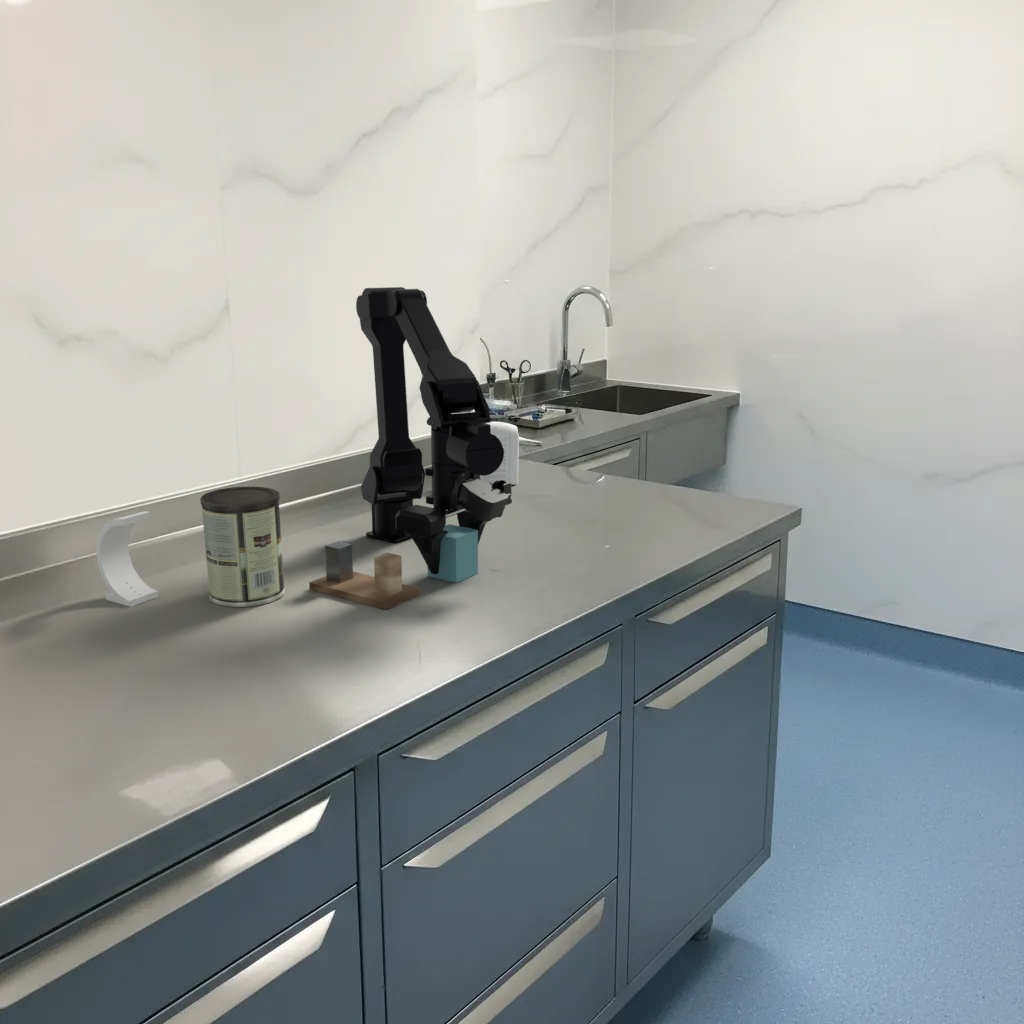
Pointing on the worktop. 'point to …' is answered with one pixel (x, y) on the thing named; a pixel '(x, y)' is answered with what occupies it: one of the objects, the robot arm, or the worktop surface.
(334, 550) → the dark metal post
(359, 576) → the walnut strip
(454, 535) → the turquoise upright block
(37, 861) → the worktop surface
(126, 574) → the headphone stand
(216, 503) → the coffee can
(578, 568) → the worktop surface
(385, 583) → the maple post
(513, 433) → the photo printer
